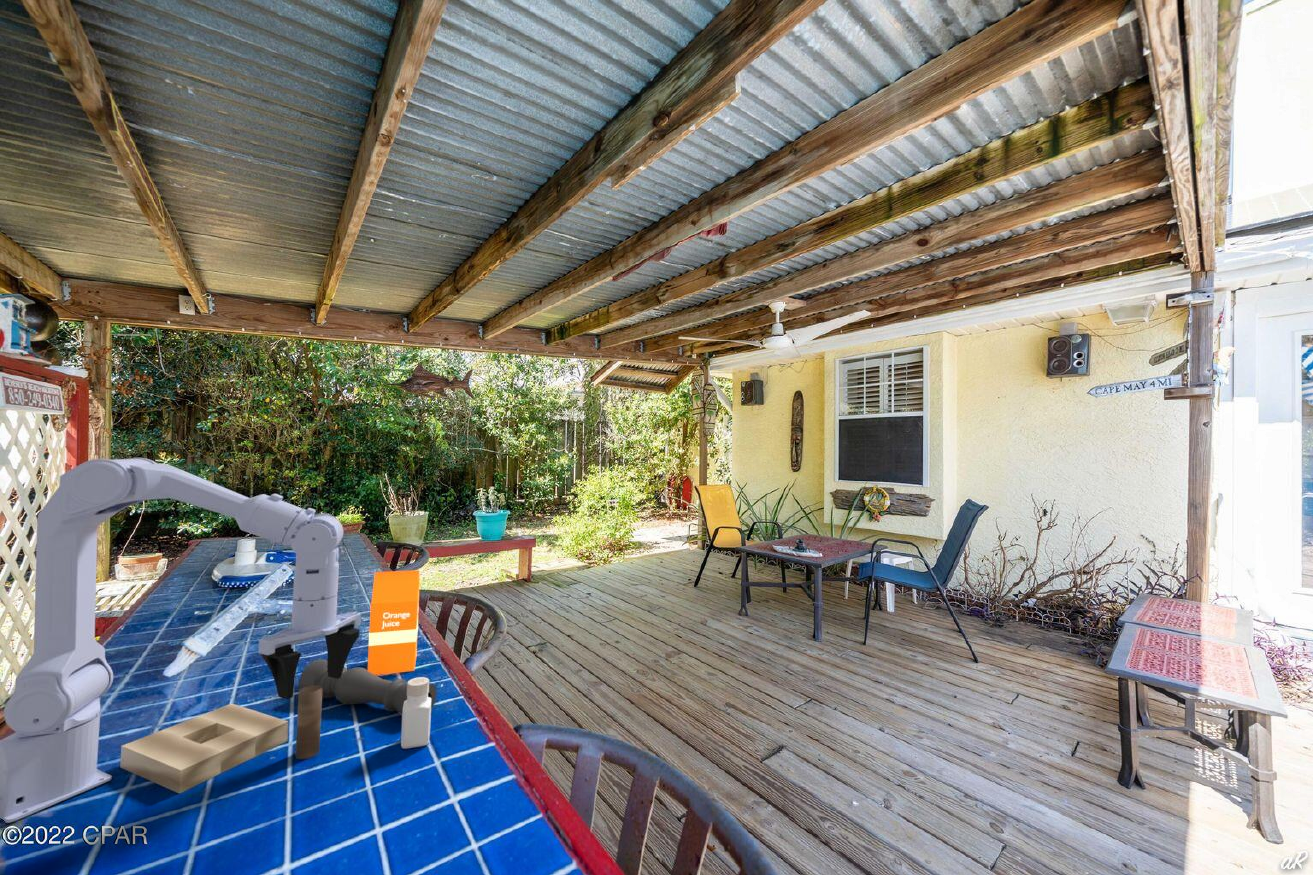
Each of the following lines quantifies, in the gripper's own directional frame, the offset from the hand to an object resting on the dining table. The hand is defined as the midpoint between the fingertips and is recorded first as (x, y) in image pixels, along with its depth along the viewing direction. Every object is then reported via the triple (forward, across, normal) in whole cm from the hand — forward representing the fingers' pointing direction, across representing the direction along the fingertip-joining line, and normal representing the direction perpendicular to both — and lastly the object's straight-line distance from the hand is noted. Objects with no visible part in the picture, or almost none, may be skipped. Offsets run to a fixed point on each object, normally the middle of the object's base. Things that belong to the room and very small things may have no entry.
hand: (311, 686), depth 80 cm
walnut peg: (+10, 0, 0) cm, 10 cm away
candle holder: (+7, +13, +18) cm, 23 cm away
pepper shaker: (+10, +9, -12) cm, 18 cm away
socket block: (+10, -6, +13) cm, 17 cm away
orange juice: (+10, +29, +15) cm, 34 cm away
